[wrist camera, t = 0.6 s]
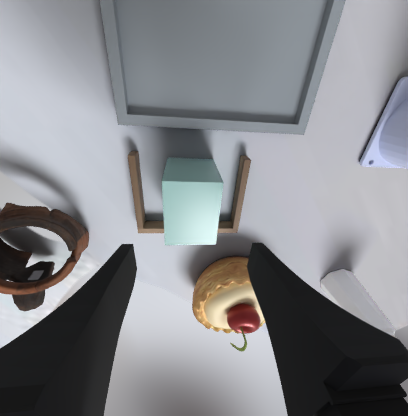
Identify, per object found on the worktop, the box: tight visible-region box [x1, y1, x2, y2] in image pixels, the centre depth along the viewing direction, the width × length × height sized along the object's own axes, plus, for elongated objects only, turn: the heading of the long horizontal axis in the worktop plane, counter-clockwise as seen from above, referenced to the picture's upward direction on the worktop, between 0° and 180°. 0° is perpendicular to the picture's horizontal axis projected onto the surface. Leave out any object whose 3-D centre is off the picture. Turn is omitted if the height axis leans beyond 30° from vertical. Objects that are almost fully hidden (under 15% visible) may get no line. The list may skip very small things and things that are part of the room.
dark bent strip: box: [128, 151, 251, 233], centre depth 20 cm, size 11×9×2 cm
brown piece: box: [0, 203, 89, 311], centre depth 20 cm, size 12×10×8 cm
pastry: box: [192, 256, 265, 351], centre depth 25 cm, size 12×12×9 cm
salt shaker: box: [321, 269, 408, 350], centre depth 27 cm, size 5×5×11 cm
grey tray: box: [100, 0, 345, 135], centre depth 14 cm, size 16×14×2 cm
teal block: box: [162, 158, 223, 245], centre depth 18 cm, size 4×6×6 cm
